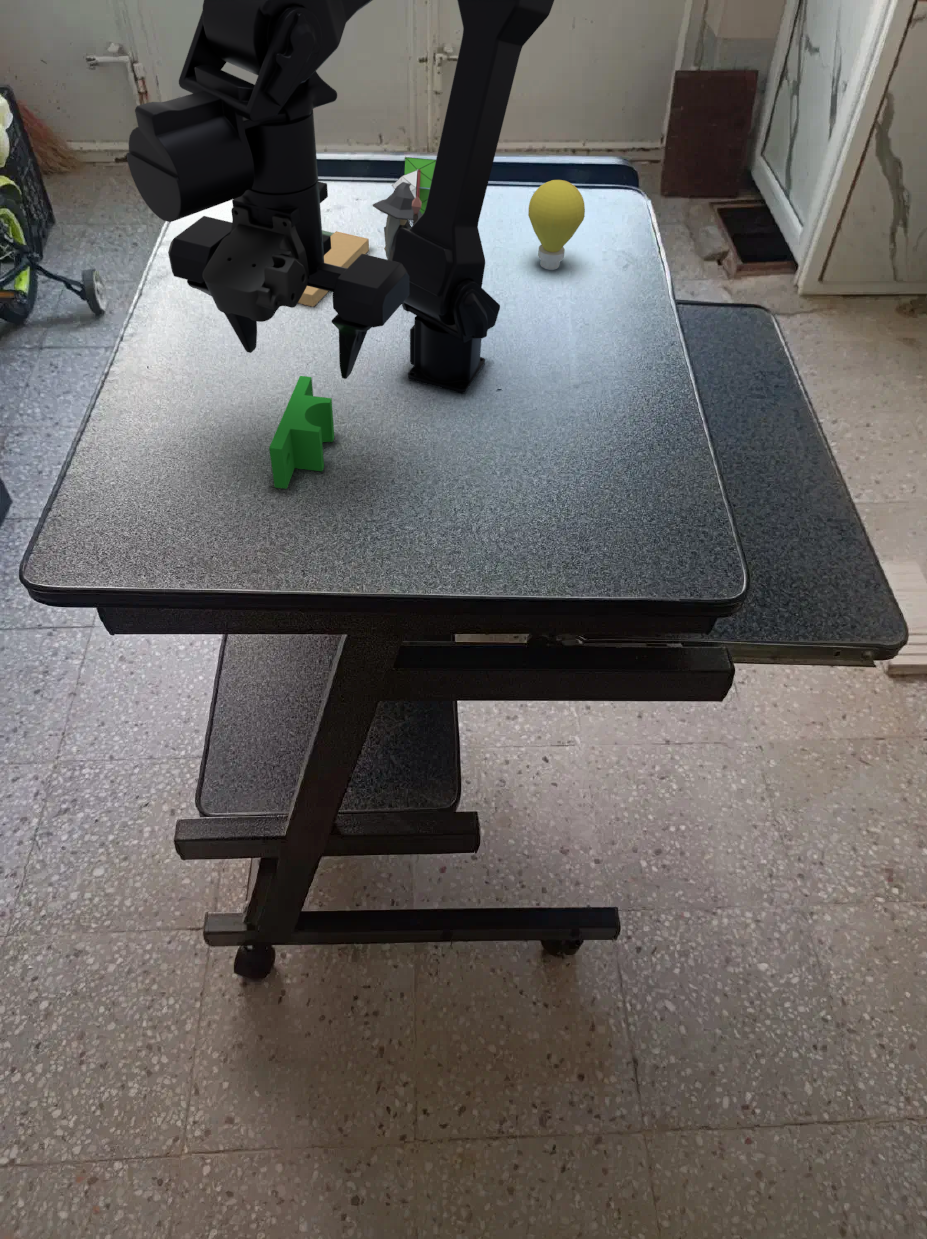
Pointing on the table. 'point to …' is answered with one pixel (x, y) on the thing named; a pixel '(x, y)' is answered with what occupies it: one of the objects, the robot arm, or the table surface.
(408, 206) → the wizard figurine
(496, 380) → the table surface
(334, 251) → the square wooden frame
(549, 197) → the light bulb
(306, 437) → the pipe clamp
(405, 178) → the geometric puzzle
